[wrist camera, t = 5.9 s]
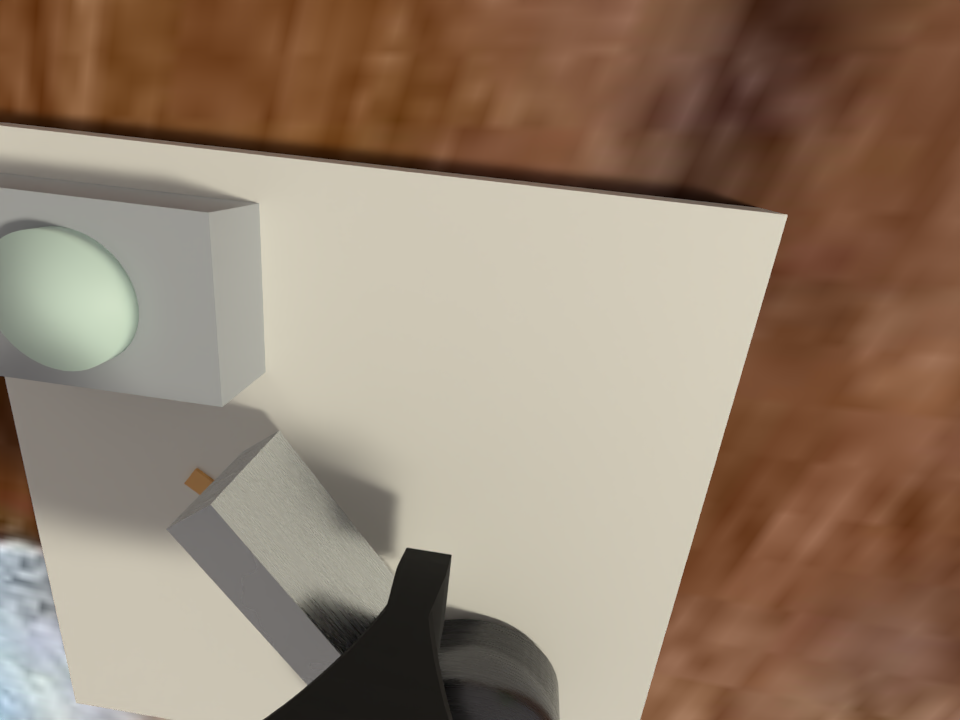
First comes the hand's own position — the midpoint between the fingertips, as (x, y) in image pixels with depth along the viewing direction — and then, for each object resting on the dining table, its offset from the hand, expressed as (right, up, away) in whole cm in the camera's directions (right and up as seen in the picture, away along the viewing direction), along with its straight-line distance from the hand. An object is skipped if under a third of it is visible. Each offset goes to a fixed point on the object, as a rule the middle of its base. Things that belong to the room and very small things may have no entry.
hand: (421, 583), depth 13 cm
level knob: (-1, -1, +2) cm, 3 cm away
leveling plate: (-2, +2, +3) cm, 4 cm away
